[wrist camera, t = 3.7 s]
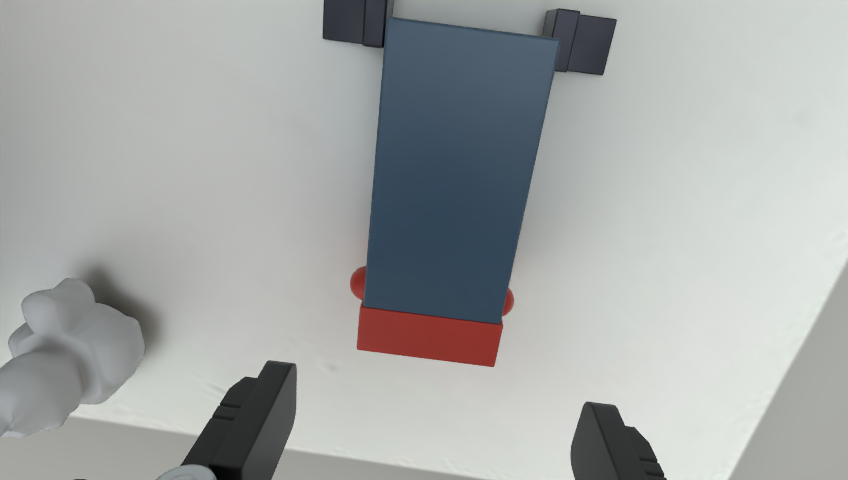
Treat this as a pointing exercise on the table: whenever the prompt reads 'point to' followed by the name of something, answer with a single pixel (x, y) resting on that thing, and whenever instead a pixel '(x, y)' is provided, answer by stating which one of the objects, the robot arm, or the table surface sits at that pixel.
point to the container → (450, 187)
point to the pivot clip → (579, 34)
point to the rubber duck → (65, 358)
